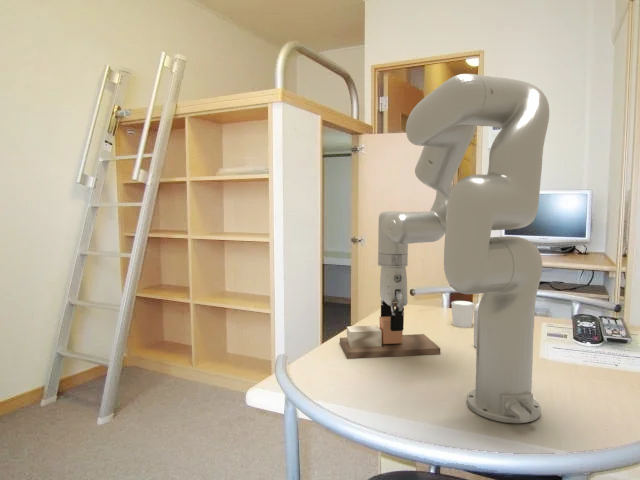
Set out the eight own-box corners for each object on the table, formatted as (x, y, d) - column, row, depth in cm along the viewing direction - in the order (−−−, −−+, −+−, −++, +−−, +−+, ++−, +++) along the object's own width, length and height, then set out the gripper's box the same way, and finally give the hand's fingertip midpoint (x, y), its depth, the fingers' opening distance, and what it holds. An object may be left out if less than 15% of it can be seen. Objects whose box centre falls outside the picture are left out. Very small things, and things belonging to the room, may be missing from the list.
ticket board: (347, 358, 108) (347, 336, 107) (339, 343, 120) (339, 323, 119) (440, 354, 110) (440, 332, 110) (423, 339, 122) (424, 319, 122)
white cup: (446, 323, 138) (446, 301, 138) (465, 321, 140) (465, 299, 140) (459, 329, 132) (459, 306, 131) (479, 327, 134) (479, 304, 133)
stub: (383, 344, 113) (383, 320, 112) (379, 339, 117) (379, 316, 116) (402, 343, 113) (402, 320, 113) (397, 338, 117) (398, 316, 117)
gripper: (418, 265, 105) (416, 334, 107) (397, 254, 122) (396, 315, 124) (387, 265, 104) (386, 336, 106) (370, 255, 121) (370, 316, 123)
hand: (391, 324), depth 115 cm, fingers open, 9 cm apart
